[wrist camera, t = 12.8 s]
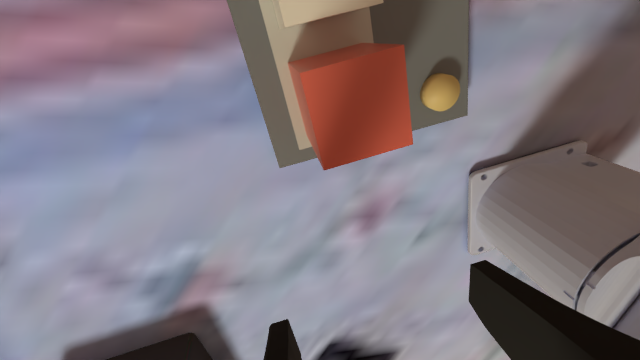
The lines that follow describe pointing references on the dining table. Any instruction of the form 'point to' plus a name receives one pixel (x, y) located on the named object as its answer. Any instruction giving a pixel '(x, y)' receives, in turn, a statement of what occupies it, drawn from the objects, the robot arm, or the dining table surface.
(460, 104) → the panel
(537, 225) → the robot arm
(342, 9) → the switch handle
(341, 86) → the block
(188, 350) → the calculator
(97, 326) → the dining table surface
